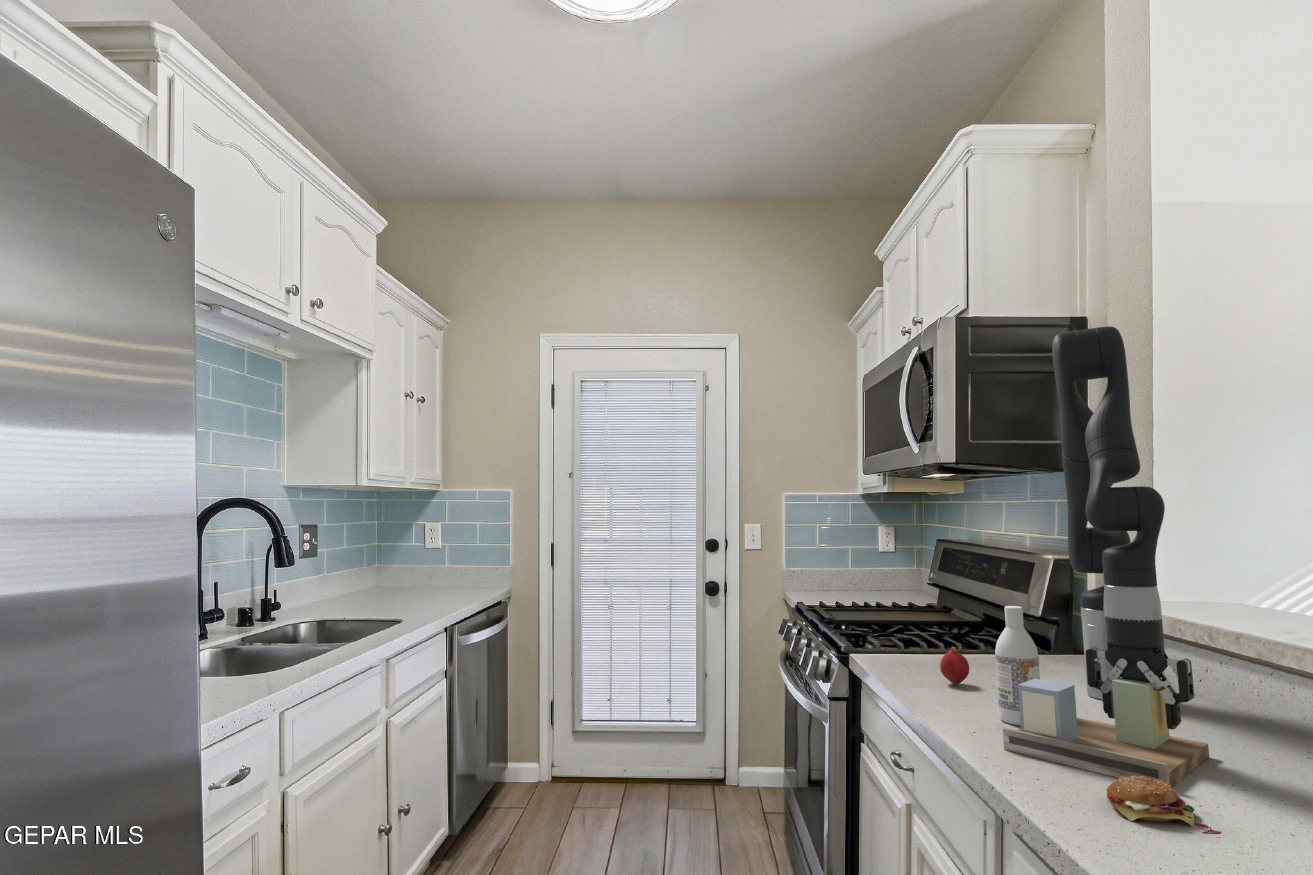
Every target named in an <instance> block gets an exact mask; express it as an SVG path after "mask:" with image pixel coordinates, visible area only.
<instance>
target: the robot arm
mask: <svg viewBox="0 0 1313 875" xmlns="http://www.w3.org/2000/svg"><path fill="white" fill-rule="evenodd" d="M1052 341H1053V342H1052V347H1051V348H1052V350H1051V352H1052V354H1051V355H1052V364H1053V372H1054V377H1055V383H1056V384H1055V385H1056V391H1057V397H1058V404H1059V412H1060V413H1059V414H1060V431H1061V454H1062V455H1061V456H1062V466H1063V475H1064V476H1063V477H1064V483H1065V491H1066V492H1065V493H1066V502H1067V503H1066V504H1067V505H1066V506H1067V551H1068V559H1069V563H1070V565H1071V568H1072V569H1073V571H1075V572H1077V573H1082V574H1083V573H1084V574H1103V584H1104V585H1101V586H1098V587H1097V588H1093V589H1088V590H1085V591H1084V592H1081V594H1080V596H1079V600H1080V614H1081V627H1082V641H1083V652H1084V666H1085V681H1086V693H1087V695H1088V696H1089V697H1092V698H1094V699H1098V700H1102V705H1103V706H1102V708H1103V712H1104V713H1105V714H1106V715H1107V718H1109V719H1112V720H1113V719H1114V720H1115V716H1114V703H1113V691H1112V680H1115V679H1118V678H1119V677H1122V678H1123V679H1127V680H1133V681H1135V680H1136V681H1140V682H1146V683H1148V682H1149V683H1150V682H1151V684H1153V686H1154V688H1155V689H1156V690H1157V691H1159V692H1160V694H1161V695H1162V696H1163V698H1164V699H1165V700H1166V702H1167V703H1166V704H1165V710H1166V721H1167V728H1168V729H1169V730H1172V731H1174V730H1175V729H1177V728H1178V726H1180V725H1181V724H1182V715H1181V714H1182V713H1181V704H1182V703H1189V702H1190V701H1192V700H1193V699H1195V687H1194V678H1193V666H1192V665H1193V664H1192V661H1191V660H1190V659H1188V658H1182V659H1177V658H1172V657H1171V658H1169V656H1168V654H1167V653H1166V650H1165V640H1164V638H1165V637H1164V625H1163V615H1162V613H1163V612H1162V603H1161V598H1160V594H1159V589H1158V588H1159V587H1158V580H1157V569H1156V567H1157V566H1156V555H1157V546H1158V541H1159V536H1160V533H1161V528H1162V525H1163V522H1164V517H1165V509H1166V507H1165V501H1164V498H1163V497H1162V495H1161V494H1160V492H1159V491H1158V490H1156V489H1155V488H1153V487H1150V486H1141V485H1140V486H1113V485H1114V484H1118V483H1122V482H1126V481H1129V480H1132V479H1133V478H1135V477H1136V476H1137V475H1138V474H1139V472H1140V470H1141V462H1140V457H1139V454H1138V448H1137V445H1136V439H1135V436H1134V432H1133V425H1132V418H1131V401H1130V400H1131V398H1130V386H1129V384H1130V383H1129V374H1128V364H1127V357H1126V356H1127V354H1126V348H1125V342H1124V339H1123V337H1122V335H1121V332H1120V330H1119V329H1118V328H1117V327H1114V326H1099V327H1098V326H1097V327H1092V328H1086V329H1084V328H1083V329H1078V330H1071V331H1064V332H1061V333H1058V334H1056V335H1055V336H1054V338H1053V340H1052ZM1097 379H1098V380H1099V379H1107V382H1106V383H1107V384H1106V389H1105V392H1104V394H1103V396H1102V398H1101V400H1100V402H1099V403H1098V405H1097V407H1096V408H1095V409H1094V411H1093V410H1092V409H1091V408H1090V407H1089V406H1088V405H1087V403H1086V402H1085V400H1084V399H1083V397H1082V396H1081V394H1080V393H1079V390H1078V389H1077V385H1076V383H1077V382H1082V381H1089V380H1097ZM1088 524H1089V525H1090V526H1092V527H1087V525H1088ZM1129 532H1136V535H1135V537H1134V538H1133V539H1132V540H1131V538H1130V537H1131V536H1130V533H1129ZM1168 667H1170V668H1171V669H1172V672H1173V674H1175V675H1177V682H1178V684H1177V685H1178V691H1177V690H1176V689H1175V688H1174V687H1173V686H1172V683H1171V680H1170V679H1169V678H1168V677H1167V675H1166V674H1165V673H1164V671H1165V670H1166V669H1167V668H1168ZM1155 681H1156V682H1155Z"/></svg>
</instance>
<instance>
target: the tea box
mask: <svg viewBox="0 0 1313 875" xmlns="http://www.w3.org/2000/svg"><path fill="white" fill-rule="evenodd" d="M1155 682H1156V681H1155ZM1112 691H1113V703H1114V716H1115V718H1114V725H1115V729H1116V741H1119V742H1124V743H1129V744H1134V745H1138V746H1143V747H1148V748H1153V749H1155V748H1156V747H1158V746H1159V745H1161V744H1162V743H1164V742H1165V741H1167V740H1168V739H1170V736H1171V735H1170V729H1168V728H1167V721H1166V710H1165V704H1166V703H1167V702H1166V700H1165V699H1164V698H1163V696H1162V695H1161V694H1160V692H1159V691H1157V690H1156V689H1155V688H1154V686H1153V684H1151V682H1150V683H1149V682H1148V683H1146V682H1140V681H1136V680H1135V681H1133V680H1127V679H1123V678H1122V677H1119V678H1118V679H1115V680H1112Z"/></svg>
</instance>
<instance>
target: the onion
mask: <svg viewBox="0 0 1313 875" xmlns="http://www.w3.org/2000/svg"><path fill="white" fill-rule="evenodd" d="M940 659H941V660H940V663H939V670H940V672H941V674H942V675H943V676H944V677H945V679H947V680H948V681H949V682H950V683H951V684H952V685H954V686H958V685H960V684H961V683H962V682H963V681H965V679H966V678H968V676H969V674H970V664H969V661H968V660H967V658H966V657H965V656H964V655H963V654H962V653H961V652H960V651H958V650H957V647H955V646H952V647H951V648H950V650H949V651H948V652H946V653H944V655H943V656H942V658H940Z"/></svg>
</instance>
